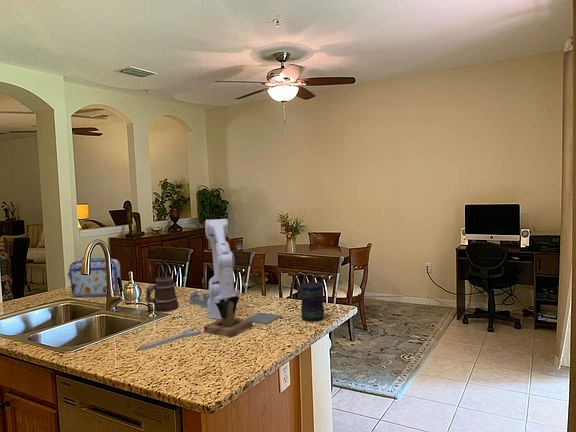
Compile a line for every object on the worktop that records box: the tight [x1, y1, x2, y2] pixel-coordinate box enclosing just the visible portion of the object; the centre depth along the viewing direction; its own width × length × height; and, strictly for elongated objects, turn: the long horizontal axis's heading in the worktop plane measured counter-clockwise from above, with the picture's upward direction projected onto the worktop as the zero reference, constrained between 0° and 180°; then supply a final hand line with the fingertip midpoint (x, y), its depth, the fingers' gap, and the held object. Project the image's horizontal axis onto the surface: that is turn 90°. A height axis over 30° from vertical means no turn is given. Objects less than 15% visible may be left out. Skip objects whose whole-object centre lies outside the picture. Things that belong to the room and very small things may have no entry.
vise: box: [183, 289, 210, 309], centre depth 218 cm, size 18×10×7 cm, turn 46°
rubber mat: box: [243, 311, 283, 325], centre depth 189 cm, size 12×12×1 cm
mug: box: [144, 276, 179, 312], centre depth 209 cm, size 16×12×15 cm
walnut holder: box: [203, 317, 253, 338], centre depth 176 cm, size 14×14×2 cm
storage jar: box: [300, 281, 325, 323], centre depth 186 cm, size 10×10×15 cm
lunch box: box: [67, 257, 121, 298], centre depth 243 cm, size 28×10×22 cm, turn 93°
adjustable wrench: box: [138, 327, 202, 351], centre depth 166 cm, size 25×6×2 cm, turn 131°
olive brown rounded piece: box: [221, 300, 236, 327], centre depth 175 cm, size 6×6×11 cm
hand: (228, 316), depth 175 cm, fingers closed on olive brown rounded piece, 5 cm apart
